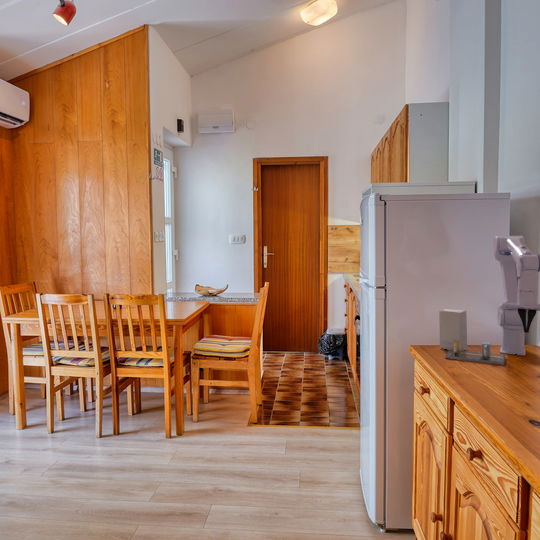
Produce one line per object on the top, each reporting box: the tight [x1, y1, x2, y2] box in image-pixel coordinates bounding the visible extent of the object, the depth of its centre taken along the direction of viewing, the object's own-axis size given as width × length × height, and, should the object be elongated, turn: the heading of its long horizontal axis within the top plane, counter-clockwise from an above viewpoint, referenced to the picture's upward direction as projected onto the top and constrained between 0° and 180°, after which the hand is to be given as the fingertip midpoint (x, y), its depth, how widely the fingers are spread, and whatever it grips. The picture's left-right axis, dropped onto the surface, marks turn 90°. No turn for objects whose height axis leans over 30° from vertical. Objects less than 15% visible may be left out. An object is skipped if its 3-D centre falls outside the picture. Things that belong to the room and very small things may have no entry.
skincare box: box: [438, 308, 468, 351], centre depth 171 cm, size 8×6×15 cm
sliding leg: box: [481, 341, 491, 357], centre depth 156 cm, size 7×2×4 cm, turn 150°
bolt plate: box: [444, 340, 506, 366], centre depth 158 cm, size 11×18×5 cm, turn 60°
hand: (526, 332), depth 151 cm, fingers closed
